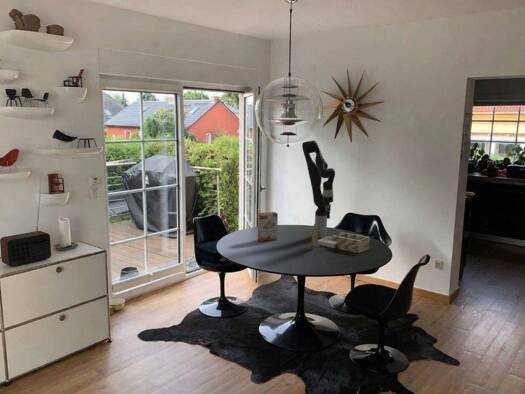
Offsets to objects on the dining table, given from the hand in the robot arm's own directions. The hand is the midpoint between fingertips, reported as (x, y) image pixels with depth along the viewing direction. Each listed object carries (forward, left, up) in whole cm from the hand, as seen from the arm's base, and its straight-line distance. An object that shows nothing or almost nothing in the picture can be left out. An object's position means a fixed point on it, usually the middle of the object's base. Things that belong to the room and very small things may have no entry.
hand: (328, 217), depth 331 cm
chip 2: (+20, -1, -11) cm, 23 cm away
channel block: (+19, -1, -19) cm, 27 cm away
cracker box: (-39, -23, -20) cm, 49 cm away
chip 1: (+13, -1, -11) cm, 18 cm away
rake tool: (0, -18, -19) cm, 27 cm away
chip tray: (+4, -1, -19) cm, 20 cm away
